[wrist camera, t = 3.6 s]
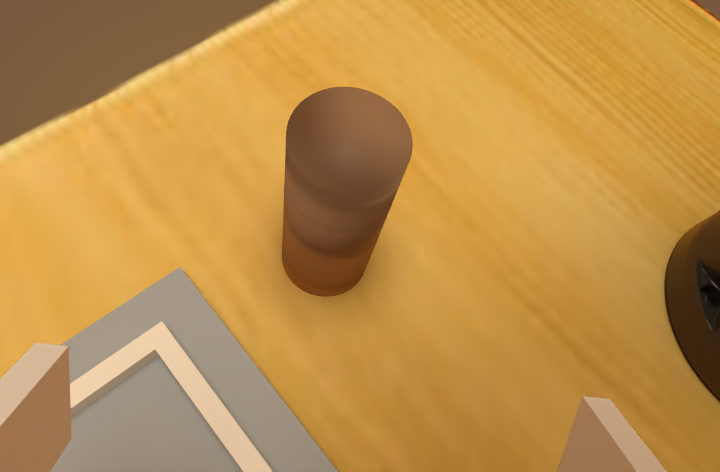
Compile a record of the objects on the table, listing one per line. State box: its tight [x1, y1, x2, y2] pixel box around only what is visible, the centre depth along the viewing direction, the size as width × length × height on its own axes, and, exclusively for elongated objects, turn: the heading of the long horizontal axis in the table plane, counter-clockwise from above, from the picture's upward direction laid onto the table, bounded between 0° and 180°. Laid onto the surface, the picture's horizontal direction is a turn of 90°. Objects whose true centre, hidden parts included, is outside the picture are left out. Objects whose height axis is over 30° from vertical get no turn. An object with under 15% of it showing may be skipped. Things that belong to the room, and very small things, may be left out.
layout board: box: [50, 267, 338, 472], centre depth 25 cm, size 14×14×2 cm
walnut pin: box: [282, 87, 413, 296], centre depth 27 cm, size 5×5×12 cm
